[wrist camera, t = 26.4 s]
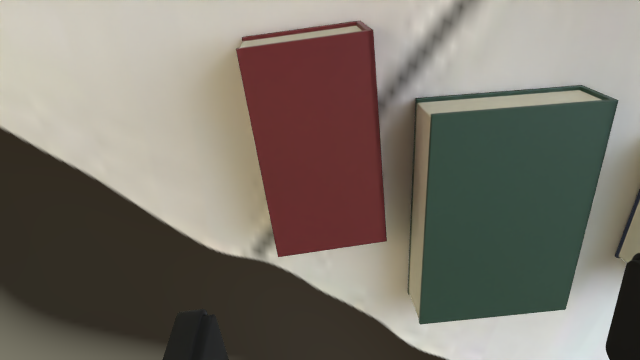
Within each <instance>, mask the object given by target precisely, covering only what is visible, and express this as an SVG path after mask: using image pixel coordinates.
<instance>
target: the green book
mask: <svg viewBox="0 0 640 360" xmlns="http://www.w3.org/2000/svg"><path fill="white" fill-rule="evenodd" d="M617 104H618V100H616V99H614V98H612V97H609V96H607V95H604V94H602V93H599V92H597V91H595V90H592V89H590V88H587V87H585V86H583V85H578V86H565V87H553V88H540V89H527V90H515V91H502V92H489V93H477V94H464V95H451V96H439V97H426V98H416V104H415V128H414V153H413V177H412V201H411V226H410V250H409V274H408V294H409V295H410V297H411V300H412V302H413V305H414V307H415V310H416V313H417V315H418V318H419V323H420V324H428V323H438V322H448V321H458V320H467V319H477V318H487V317H497V316H507V315H517V314H527V313H536V312H546V311H556V310H565V309H566V306H567V302H568V298H569V294H570V290H571V286H572V282H573V278H574V274H575V270H576V266H577V262H578V258H579V254H580V250H581V246H582V242H583V238H584V234H585V230H586V226H587V222H588V218H589V214H590V211H591V207H592V203H593V199H594V195H595V191H596V187H597V183H598V179H599V175H600V171H601V167H602V163H603V159H604V155H605V151H606V147H607V143H608V139H609V135H610V131H611V127H612V123H613V119H614V115H615V112H616V108H617Z"/></svg>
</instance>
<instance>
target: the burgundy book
mask: <svg viewBox="0 0 640 360" xmlns="http://www.w3.org/2000/svg"><path fill="white" fill-rule="evenodd" d="M242 41H243V42H242V44H241V47H240V48H237V49H236V52H237V56H238V61H239V66H240V71H241V76H242V81H243V86H244V91H245V96H246V101H247V106H248V111H249V116H250V121H251V126H252V130H253V135H254V140H255V145H256V150H257V155H258V160H259V165H260V170H261V175H262V180H263V185H264V190H265V195H266V200H267V204H268V209H269V214H270V219H271V224H272V229H273V234H274V239H275V244H276V249H277V254H278V257H282V256H289V255H296V254H302V253H309V252H316V251H323V250H330V249H337V248H343V247H350V246H357V245H364V244H371V243H377V242H384V241H387V238H386V223H385V207H384V192H383V176H382V160H381V145H380V129H379V114H378V98H377V83H376V67H375V51H374V36H373V30H372V29H371V28H369V27H368V26H367V25H365V24H364V23H363V22H361V21H354V22H347V23H340V24H333V25H325V26H318V27H311V28H304V29H297V30H289V31H282V32H275V33H268V34H261V35H253V36H246V37H242Z"/></svg>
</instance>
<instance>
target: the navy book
mask: <svg viewBox="0 0 640 360" xmlns="http://www.w3.org/2000/svg"><path fill="white" fill-rule="evenodd" d="M637 253H640V190H639V192H638V195H637V198H636V200H635V203H634V206H633V208H632V211H631V214H630V217H629V219H628V222H627V225H626V227H625V230H624V233H623V235H622V238H621V241H620V243H619V246H618V249H617V251H616V254H615V257H617V258H621V259H622V260H623V261H625V262H626V263H628V262H629V261H631V260H632V258H633V256H634V255H635V254H637Z"/></svg>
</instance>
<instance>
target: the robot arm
mask: <svg viewBox="0 0 640 360" xmlns="http://www.w3.org/2000/svg"><path fill="white" fill-rule="evenodd" d="M606 352H607V355H608V357H609V359H610V360H640V253H637V254H635V255H634V256H633V258H632V260H631V261H629V262H628V263H627V265H626V268H625V272H624V276H623V280H622V284H621V288H620V291H619V295H618V299H617V303H616V307H615V311H614V315H613V319H612V322H611V326H610V330H609V334H608V338H607V342H606ZM163 360H229V359H228V356H227V352H226V349H225V346H224V342H223V339H222V336H221V332H220V329H219V326H218V323H217V319H216V316H215V315H208V314H207V311H206V310H205V309H200V310H192V311H185V312H179V313H178V315H177V317H176V319H175V322H174V326H173V329H172V332H171V335H170V338H169V341H168V345H167V348H166V351H165V354H164V357H163Z"/></svg>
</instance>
